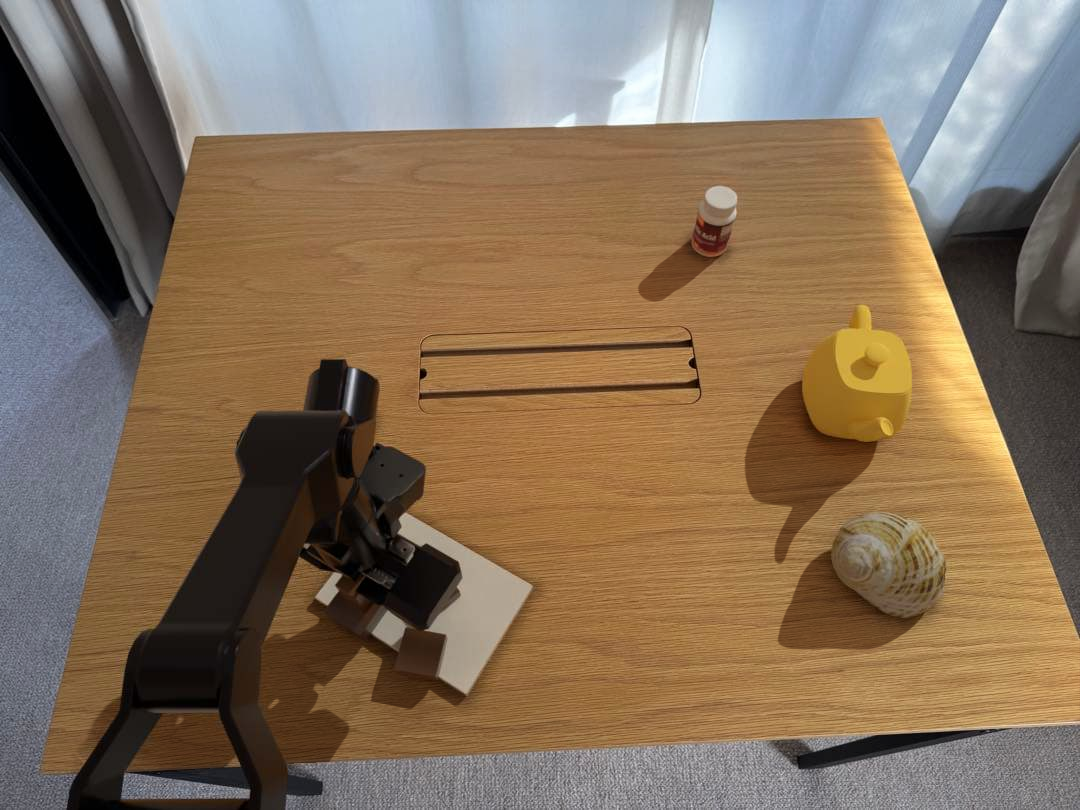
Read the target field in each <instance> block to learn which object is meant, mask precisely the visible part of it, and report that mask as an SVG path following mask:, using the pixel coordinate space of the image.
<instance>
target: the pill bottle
mask: <svg viewBox="0 0 1080 810" xmlns="http://www.w3.org/2000/svg"><path fill="white" fill-rule="evenodd" d="M737 203H738V194H737V193H736V192H735V191H734V190H733V189H732V188H730V187H727V186H725V185H724V186H723V185H716V186H712V187H710V188H708V189H707V190H706V191H705V194H704V197H703V201H702V202H701V203H700V205H699V207H698V211H697V215H696V219H695V224H694V229H693V233H692V237H691V246H692V248H693V250H694V251H695V252H696V253H697V254H699V255H700V256H703V257H707V258H714V257H718V256H721V255H723V254H724V253H725V252H726V251H727V248H728V245H729V242H730V238H731V235H732V232H733V228H734V226H735V221H736V218H737V214H738V213H737Z"/></svg>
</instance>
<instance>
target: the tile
mask: <svg viewBox="0 0 1080 810" xmlns="http://www.w3.org/2000/svg"><path fill="white" fill-rule="evenodd" d="M399 521H400V523H401V526H402V527H401V529H400V530H399V531H398V534H400V535H402V536H403V537H405V538H407V539H409V540H410V541H412V542H414V543H415V544H417V545H419V546H423V545H424V544H426V543H427V544H429V545H431V546H432V547H434V548H436V549H437V550H439V551H441V552H443V553H444V554H446V555H448V556H450V557H451V558H453V559H455V560H456V561H458V562H459V564H460V568H461V573H462V577H463V578H462V580H461V581H460V583H459V584H458V586H457V588H458V589H459V591H460V594H461V596H460V597H458V598H457V599H456V600H455V601H453V602H452V603H451V604H449V605H448V606H447V607H446V608H444V609H443V610H442V611H440V613H439V614H438V616H437V618H436V619H435V621H434V622H433V624H432V625H431V627H430V628H429V629H426V630H425V631H430V632H436V633H441V634H446V636H447V638H448V640H447V644H446V649H445V653H444V657H443V661H442V665H441V669H440V673H439V678H438V680H440V681H441V682H443V683H445V684H446V685H448V686H449V687H451V688H453V689H454V690H455V691H457V692H459V693H460V694H462V695H463V696H465V697H469V694H470V693H471V692H472V689H473V688H474V687H475V684H476V682H477V681H478V680H479V678H480V676H481V675H482V672H483V671H484V670H485V669H486V667H487V666H488V663H489V661H490V660H491V658H492V656H493V655H494V654H495V652H496V651H497V649H498V647H499V645H500V644H501V642H502V640H503V639H504V637H505V635H507V632H508V631H509V629H510V627H511V626H512V624H513V623H514V621H515V619H516V617H517V616H518V614H519V612H520V611H521V610H522V608H523V606H524V605H525V603H526V601H527V599H528V598H529V597H530V595H531V593H532V592H533V589H534V587H533V584H530V583H528V582H527V581H525V580H524V579H522V578H520V577H518V576H517V575H515V574H513V573H511V572H509V571H508V570H506V569H505V568H503V567H502V566H501V567H500V566H499V565H498V564H496V563H494V562H492V561H491V560H489V559H487V558H486V557H484V556H482V555H480V554H478V553H476V552H475V551H473V550H472V549H470V548H468V547H467V546H464V545H463V544H461V543H460V542H457V541H456V540H454V539H452V538H450V537H449V536H447V535H445V534H444V533H442V532H440V531H438V530H437V529H435V528H433V527H431V526H430V525H428V524H427V523H425V522H423V521H421V520H420V519H418V518H416V517H414V516H413V515H411V514H410V513H407V512H405V513H404V514H403V515H402V516H401V517H400V518H399ZM341 576H342V574H340V573H336V572H332V574H331V575H330V576H329V578H328V579H327V580H326V582H325V583H324V584H323V586H322V587H321V588H320V589H319V591H318V593H317V594H316V595H315V596H314V598H315V600H316V601H317V602H318V603H320V604H321V605H323V606H325V608H326V607H327V606H328V605H329V603H330V602H331V601H332V599H333V598H334V597H335V595H336V594H337V593H338V589H337V588H336V586H335V584H336V583H337V582H338V580H339V579H340V578H341ZM405 627H408V628H414V627H412V626H410V625H409V624H407V623H405V622H404V621H402V620H401V619H399V618H397V617H396V616H394V615H393V614H392V613H391V612H389V611H387V612H386V613H385V615H384V616H383V618H382V619H381V621H380V622H379V623H378V625H377V626H376V628H375V629H374V630H373V632H372V633H371V635H370V636H372V637H373V638H374V639H377V640H378V641H379V642H381V643H383V645H386V646H387V647H389V648H390V649H392V650H393V651H395V652H396V653H398V652H399V649H400V645H401V641H402V638H403V634H404V630H405ZM414 629H415V628H414Z"/></svg>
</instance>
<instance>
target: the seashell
mask: <svg viewBox="0 0 1080 810" xmlns="http://www.w3.org/2000/svg"><path fill="white" fill-rule="evenodd" d="M831 545H832V546H831V551H830V553H831V555H830V556H831V563H832V567H833V570H834V572H835V573H836V576H837V577H838V578H839V579H840V581H841V582H842V583H843V584H844V585H845V586H847V587H848V588H850V589H851V590H854V591H855V592H856V593H857V594H858V595H859V596H860V597H862V598H863V599H864V600H866V601H867V602H868V603H869V604H871V605H872V606H873V607H875V608H877V609H878V610H879V611H881V612H883V613H884V614H887V615H888V616H889V615H890V616H892V617H895V618H900V619H906V618H913V617H916V616H919V615H920V614H922V613H925V611H927V610H929V609H931V608H932V607H933V606H934V605H935V604H936V603H937V602H938V601H939V600H940V598H941V597H942V596H943V594H944V591H945V585H946V584H945V583H946V572H947V561H946V558H945V555H944V554H943V553H942V551H941V548H940V546H939V544H938V543H937V541H936V539H935V538H934V537H933V535H932V534H931V533H930V532H929V531H928V530H927V529H926V528H925V527H924V526H923V525H922V524H921V523H920V522H918V521H916V520H911V519H909V518H907V517H905V516H903V515H900V514H897V513H894V512H888V511H870V512H865V513H863V514H860V515H857V516H855V517H853V518H852V519H850V520H848V521H847V522H846V523H844V524H843V525H842V526H841V527H840V528H839V530H838V533H837V534H836V536H835V537H834V539H833V542H832V544H831Z"/></svg>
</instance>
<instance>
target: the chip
mask: <svg viewBox="0 0 1080 810" xmlns="http://www.w3.org/2000/svg"><path fill="white" fill-rule="evenodd" d="M447 640H448V638H447V636H446V634H441V633H436V632H430V631H425V630H423V631H418V630H417V629H414V628H408V627H405V630H404V634H403V638H402V641H401V645H400V649H399V652H397V656H396V660H395V664H394V666H393V670H394V672H395V673H396V674H399V675H403V676H408V677H414V678H420V679H424V680H430V681H435V682H438V681H439V673H440V669H441V665H442V661H443V657H444V653H445V649H446V644H447Z"/></svg>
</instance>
